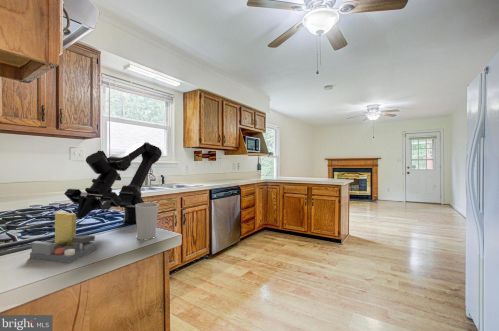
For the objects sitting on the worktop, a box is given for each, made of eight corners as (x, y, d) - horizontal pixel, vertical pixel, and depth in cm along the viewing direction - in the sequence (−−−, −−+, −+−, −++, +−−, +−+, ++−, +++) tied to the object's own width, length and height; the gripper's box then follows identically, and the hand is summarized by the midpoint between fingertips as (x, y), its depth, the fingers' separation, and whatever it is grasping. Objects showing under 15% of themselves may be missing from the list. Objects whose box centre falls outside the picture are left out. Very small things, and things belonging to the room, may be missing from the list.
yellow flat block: (60, 241, 78) (60, 211, 78) (77, 243, 77) (77, 213, 77) (53, 243, 76) (53, 213, 75) (70, 245, 75) (70, 215, 74)
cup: (141, 242, 85) (142, 208, 84) (130, 237, 89) (131, 204, 89) (162, 236, 91) (163, 205, 90) (150, 232, 96) (151, 201, 95)
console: (62, 245, 79) (62, 230, 79) (96, 249, 77) (96, 234, 77) (30, 257, 70) (30, 241, 69) (68, 263, 68) (68, 246, 67)
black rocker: (85, 239, 77) (86, 235, 78) (94, 240, 77) (95, 236, 77) (71, 242, 72) (72, 237, 73) (81, 243, 72) (81, 238, 72)
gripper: (136, 196, 96) (115, 233, 85) (93, 193, 99) (69, 228, 88) (123, 178, 88) (98, 216, 77) (77, 175, 91) (48, 211, 80)
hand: (78, 218), depth 81 cm, fingers closed
